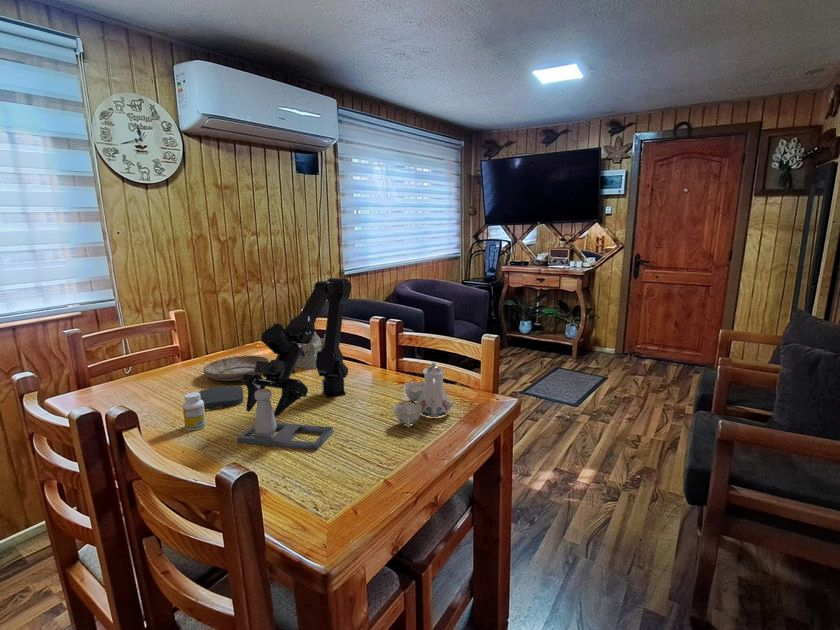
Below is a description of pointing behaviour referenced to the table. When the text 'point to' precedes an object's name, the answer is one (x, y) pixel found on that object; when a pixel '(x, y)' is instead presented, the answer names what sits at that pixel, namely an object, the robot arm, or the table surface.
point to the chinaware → (424, 397)
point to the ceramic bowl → (232, 367)
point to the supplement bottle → (194, 411)
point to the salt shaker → (264, 414)
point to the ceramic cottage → (310, 352)
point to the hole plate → (288, 436)
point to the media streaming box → (222, 397)
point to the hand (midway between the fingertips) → (261, 413)
